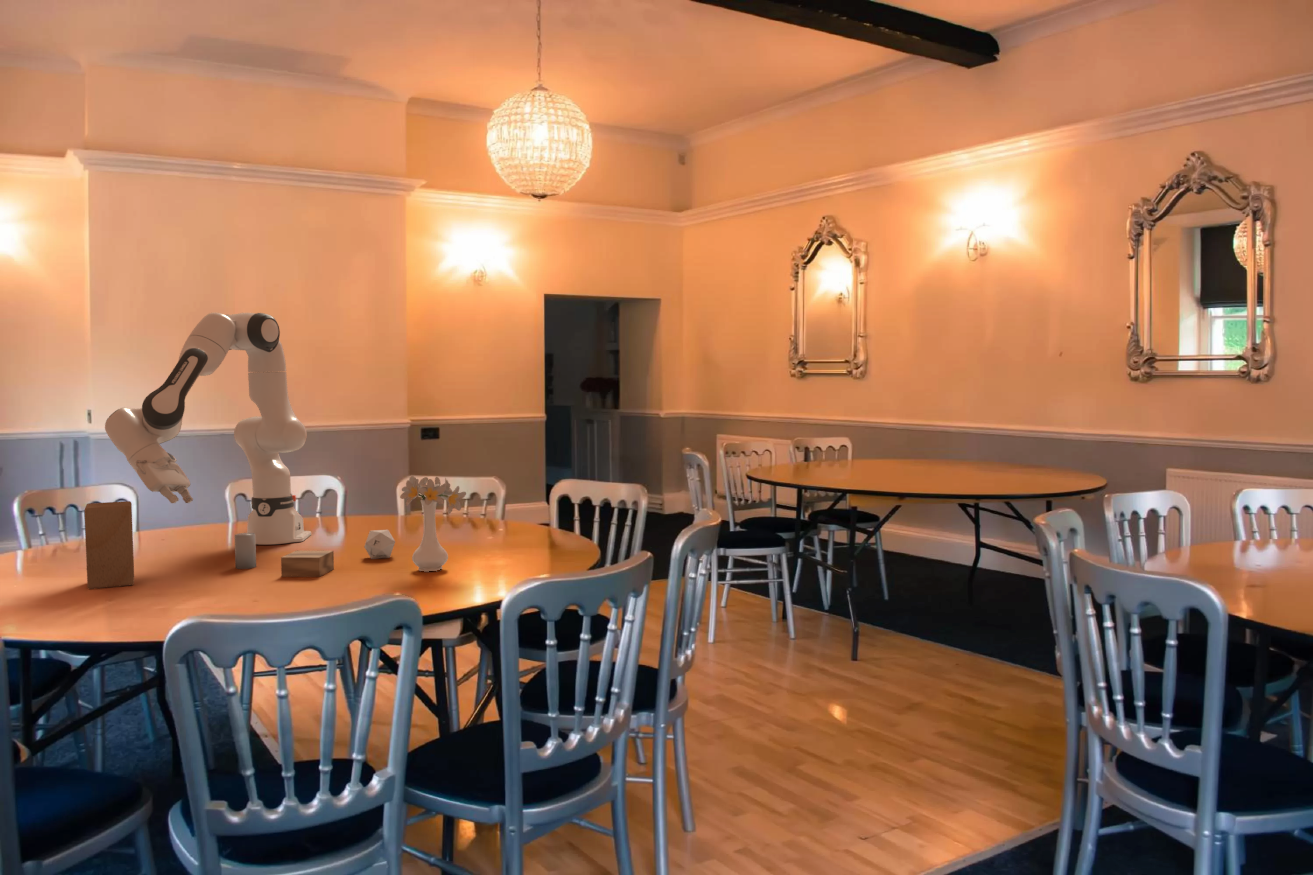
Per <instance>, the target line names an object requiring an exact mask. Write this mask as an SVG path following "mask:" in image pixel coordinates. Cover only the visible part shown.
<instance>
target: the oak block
mask: <svg viewBox="0 0 1313 875" xmlns="http://www.w3.org/2000/svg"><path fill="white" fill-rule="evenodd" d="M334 554H335V553H334V550H306V549H305V550H302V549H300V550H297V549H296V550H294V551H292V552H290V553H288V554H286V555H283V556H281V557H280V560H281V561H280V565H281V566H280V569H281V570H280V571H281V577H285V578H286V577H288V578H289V577H292V578H293V577H294V578H295V577H296V578H298V577H299V578H300V577H302V578H303V577H304V578H307V577H308V578H313V577H314V578H320V577H323V576H324V575H326V574H328V573H330V572H331V571H333V570H334V568H335V564H334V562H335V561H334V559H335V556H334Z"/></svg>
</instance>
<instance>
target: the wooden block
mask: <svg viewBox="0 0 1313 875" xmlns="http://www.w3.org/2000/svg"><path fill="white" fill-rule="evenodd" d="M132 506H133V505H132V501H127V500H125V501H109V502H107V501H106V502H89V503H87V504H86V506H85V508H84V510H83V511H84V529H85V530H84V531H85V532H84V533H85V555H86V556H85V558H86V559H85V561H86V580H87V581H86V583H87V584H86V585H87V589H88V590H95V589H94V588H97V589H104V588H105V587H108V588H116V587H127V586H128V587H129V586H133V585H134V584H135V567H134V566H135V565H134V564H135V563H134V562H135V559H134V534H133V533H134V532H133V507H132ZM105 589H106V588H105Z"/></svg>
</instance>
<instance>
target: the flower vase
mask: <svg viewBox="0 0 1313 875" xmlns="http://www.w3.org/2000/svg"><path fill="white" fill-rule="evenodd" d="M444 478H445V479H444V480H445V481H444V483H442V484H441V479H440V477H439V476H435V477H434V480H433V479H431V478H429V477H428V476H426V477H423V478H421V479H420V480H419V479H418V478H416V477H415V476H413V475H410V477H409V479H408V480H406V483H405V486H403V487H402V488H401V491H402V493H401V494H400V497H399V498H400V500H401V499H402V500H405V499H406V502H405V506H406V507H408V506H409V505H410V503H412V501H413V500H415V499H416V498H417V497H421V499H420V503H421V506H422V511H423V534H422V539H421V541H420V544H419V546H418V547H417V548H416V549H415V550H414V552H413V553H412V556H411V560H412V562H413V563H414V564H415V566H416V567H418V568H417V569H418V571H419V572H421V571H424V573H430V572H429V571H436V572H438V571H437V570H440V569H443V566H444V565H445V564H446V563H447V562H448V559H449V554H448V552H447V551H446V549H445V548H444V547H443V546H442V545H441V543H440V542H439V539H438V537H437V525H436V511H437V510H436V508H437V504H439V505H443V504H444V503H445V501H446V502H447V503H448V504H447V505H448V507H447V513H448V514H451V513H452V512H453V509H455V510H457V512H459V511H461V510H462V503H461V502H460V500H462V499H464V498H465V497H466V495H467V492H466V491H462V492H461V491H460V486H459V485H457V486H456V487H455V488H454V490H452V489H451V484H450V483H449V481H448V479H447V478H446V477H444ZM459 491H460V492H459ZM444 500H445V501H444ZM440 571H441V570H440Z"/></svg>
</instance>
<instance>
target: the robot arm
mask: <svg viewBox="0 0 1313 875" xmlns="http://www.w3.org/2000/svg"><path fill="white" fill-rule="evenodd" d="M280 334H281V331H280V326H279V323H278V322H277V319H276V318H275V317H273V316H272V315H270V314H268V313H263V312H256V313H255V312H240V313H234V314H224V313H221V312H211V313H210V312H209V313H208V314H206V315H205V316H204V317H203V318H202V319H201V320H200V321H199V322H198V323H197V324H196V325H195V327H194V328H193V329H192V331H191V332H190V334H189V335H188V337H187V338H186V340H185V342H184V344H183V345H182V348H181V351H180V353H179V355H178V356H179V357H178V361H177V363H176V364H175V365H174V368H173V369H172V370H171V372H170V374H169V375H168V377H167V378H166V380H165V381H164V382H163V384H161V385H160V386H159V387H158V388H156V389H155V390H153V391H152V392H150V393H148V395H147V396H146V397H145V398H144V399H143V402H142V404H141V405H142V406H141V408H131V407H130V408H129V407H125V406H124V407H120V408H118V409H117V410H115V411H114V412H112V413H111V414H110V415H109V417H107V419H106V420H105V423H104V431H105V433H106V434H107V436H108V438H109V439H110V441H111V442H112V443H113V445H114V447H116V448H117V450H118V451H119V452H120V453H122V454H123V455H124V456H125V458H126V460H127V461H126V462H127V463H128V464H130V467H131V468H132V469H133V470H134V471H135V472H136V474H137V475H138V477H139V478H140V480H141V482H142V483H143V484H144V485H145V487H146V488H147V489H148V490H149V491H151V492H152V493H154V492H155V493H160V495H162V496H163V497H165V499H167V500H168V501H169V503H170V504H176V503H177V502H179V500H180V499H179V497H178V496H177V494H174V493H178V494H179V495H180V496H181V497H182V500H183V501H184V503H185V504H191V503H192V502H193V500H194V498H193V497H192V495H191V494H190V491H189V489H188V488H189V487H191V481H190V479H189V478H188V476H187V475H186V473H185V472H184V470H183V469H182V467H181V466H180V465H179V463H177V458H176V457H175V456H174V455H172V454H171V453H170V452H168V451H166V450H165V448H163V447H162V446H161V444H164V443H167V442H168V441H170V440H173V439H175V438H177V436H178V435H179V434H180V432H181V429H182V425H183V418H184V413H185V410H186V409H185V408H186V406H185V405H186V402H185V400H186V397H187V395H188V394H189V393H190V391H191V389H192V388H193V386H194V384H195V383H196V381H197V379H198V378H199V377H200V376H201V377H206V376H210V375H213V374H214V373H215V371H216V370H217V369H218V368H219V367H220V366H221V364H222V362H223V361H224V359H225V358H226V356H227V354H228V353H229V351H231V350H232V351H245V352H246V355H247V356H248V357H247V358H248V359H247V380H248V381H247V382H248V394H249V395H248V396H249V398H250V400H251V401H252V402H253V404H254V405H256V407H257V408H258V411H259V413H260V416H251V417H247V418H244V419H241V420H239V422H238V423H237V424H236V425H235V428H234V432H233V436H234V441H235V443H236V444H237V445H238V446H239V447H240V448H241V449H242V451H243V452H244V455H245V456H246V459H247V462H248V464H249V467H250V473H251V484H252V497H251V501H250V504H251V509H252V511H251V512H250V513H249V514H248V516H247V527H246V528H247V529H246V530H247V531H246V533H255V540H256V545H281V544H290V543H299V542H304V541H306V539H307V538H309V537H310V536H311V535H312V531H310V530H304V529H305V528H304V518H303V516H302V515H301V514H300V513H299V512H298V510H296V509H295V507H294V506H295V502H296V500H297V495H295V494H294V495H292V492H291V491H292V486H291V471H290V468H288V466H286V465H285V464H284V462H283V460H282V459H281V457H280V454H279V453H283V454H285V453H290V452H295V451H299V450H300V449H302V448H303V447H304V446H305V443H306V441H307V436H308V435H307V434H308V431H307V429H306V426H305V424H303V422H302V421H300V419H298V417H297V415H296V414H295V412H294V410H293V407H292V404H291V401H290V397H289V391H288V379H287V376H288V375H287V363H286V356H285V351H284V348H283V344H282V342H281V341H280Z"/></svg>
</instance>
